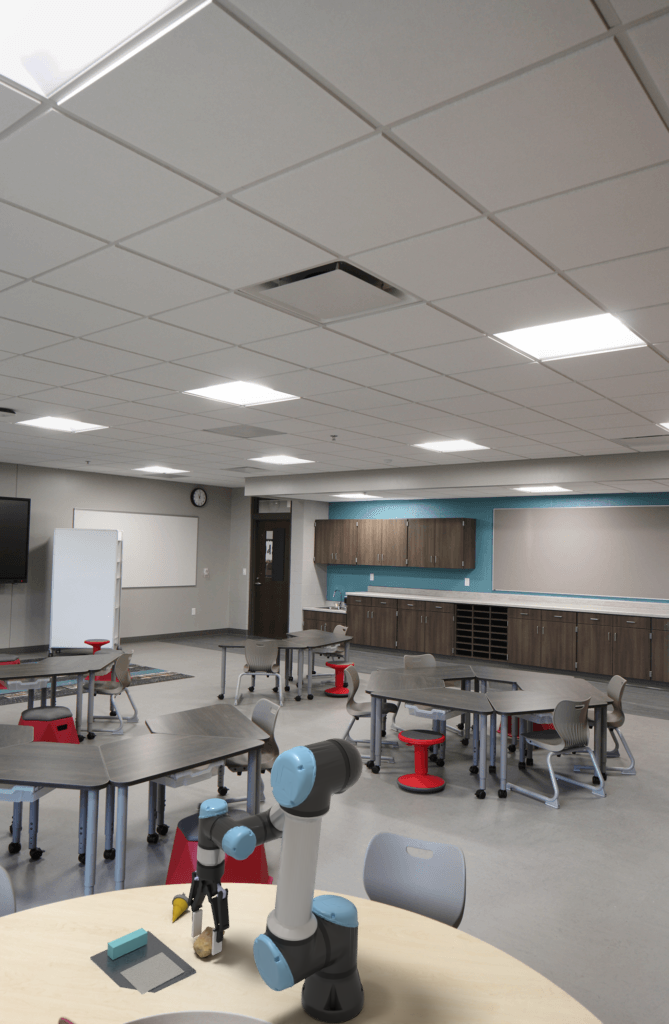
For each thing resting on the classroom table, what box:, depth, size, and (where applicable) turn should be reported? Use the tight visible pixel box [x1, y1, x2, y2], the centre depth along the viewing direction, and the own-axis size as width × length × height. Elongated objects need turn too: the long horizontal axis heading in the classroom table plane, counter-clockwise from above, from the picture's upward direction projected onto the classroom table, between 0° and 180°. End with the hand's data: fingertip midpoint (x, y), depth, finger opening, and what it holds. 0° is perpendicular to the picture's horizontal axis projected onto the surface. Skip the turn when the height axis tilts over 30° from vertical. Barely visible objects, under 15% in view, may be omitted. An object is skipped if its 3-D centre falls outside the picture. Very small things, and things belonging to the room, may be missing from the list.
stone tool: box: [192, 926, 226, 958], centre depth 177 cm, size 9×7×10 cm
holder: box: [90, 930, 197, 995], centre depth 169 cm, size 24×17×1 cm
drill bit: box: [171, 892, 190, 924], centre depth 194 cm, size 5×5×10 cm
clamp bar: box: [107, 927, 148, 960], centre depth 175 cm, size 3×10×3 cm, turn 135°
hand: (206, 943), depth 175 cm, fingers closed on stone tool, 9 cm apart
